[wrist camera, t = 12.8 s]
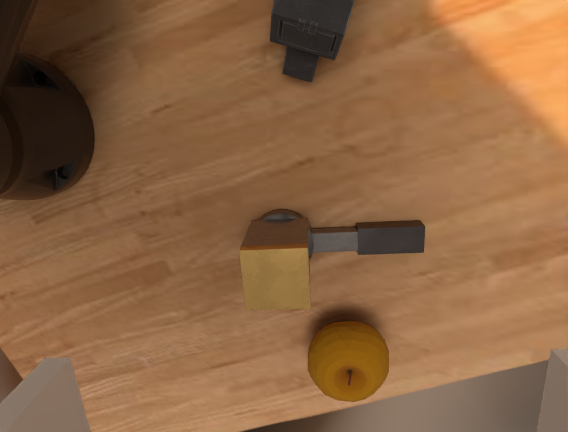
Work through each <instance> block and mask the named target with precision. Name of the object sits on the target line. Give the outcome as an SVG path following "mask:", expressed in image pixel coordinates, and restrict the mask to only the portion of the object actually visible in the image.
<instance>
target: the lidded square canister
mask: <svg viewBox="0 0 568 432" xmlns="http://www.w3.org/2000/svg"><path fill="white" fill-rule="evenodd" d="M239 253H240V263H241V272H242V281H243V290H244V300H245V309H246V310H281V309H311V300H310V259H309V239H308V218H296V219H273V220H252V221H251V224H250V226H249V228H248V231H247V233H246V236H245V238H244V240H243V243H242V245H241V247H240V250H239Z"/></svg>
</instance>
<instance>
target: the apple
mask: <svg viewBox="0 0 568 432" xmlns="http://www.w3.org/2000/svg"><path fill="white" fill-rule="evenodd" d="M308 371H309V373H310V376H311V378H312V379H313V381H314V382H315V384H316V385H317V386H318V388H319V389H320V390H321V391H322V392H323V393H324V394H325V395H327V396H329V397H331V398H334V399H336V400H340V401H350V402H356V401H360V400H364V399H366V398H367V397H369V396H371V395H372V394H374V393H375V392H376V391H377V390H378V389H379V388H380V386H381V385H382V384H383V382H384V381H385V379H386V377H387V374H388V372H389V351H388V348H387V345H386V343H385V340H384V339H383V337H382V336H381V335H380V333H379V332H378V331H377V330H376V329H374V328H373V327H371V326H369V325H367V324H364V323H362V322H359V321H342V322H334V323H331V324H329V325H327V326H325V327H324V328H322V329H321V330H320V331H319V332H318V333H317V334H316V336H315V337H314V338H313V340H312V341H311V343H310V346H309V350H308Z"/></svg>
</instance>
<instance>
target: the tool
mask: <svg viewBox="0 0 568 432" xmlns="http://www.w3.org/2000/svg"><path fill="white" fill-rule="evenodd" d="M354 2H355V0H274V4H273V9H272V16H271V31H270V41H271V42H274V43H278V44H281V45H285V46H287V50H286V56H285V61H284V67H283V73H282V74H285V75H289V76H292V77H296V78H299V79H303V80H306V81H309V82H312V80H313V76H314V73H315V70H316V66H317V63H318V59H319V56H322V57H325V58H329V59H332V60H335V58H336V56H337V53H338V50H339V48H340V45H341V42H342V40H343V37H344V34H345V31H346V28H347V24H348V21H349V18H350V15H351V12H352V8H353V5H354Z"/></svg>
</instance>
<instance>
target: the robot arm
mask: <svg viewBox="0 0 568 432" xmlns="http://www.w3.org/2000/svg"><path fill="white" fill-rule="evenodd" d="M37 3H38V0H0V199H12V200H35V199H41V198H45V197H49V196H51V195H54V194H56V193H59V192H61V191H63V190H65V189H67V188H69V187H70V186H72V185H73V184H75V183H76V182H77V181H78V180H79V179H80V178H81V177H82V175H83V174H84V172H85V171H86V169H87V167H88V165H89V163H90V160H91V157H92V153H93V147H94V131H93V125H92V120H91V117H90V113H89V111H88V108H87V106H86V104H85V102H84V100H83V98H82V96H81V95H80V93H79V92H78V90H77V89H76V87H75V86H74V85H73V84H72V83H71V81H70V80H69V79H68V78H67V77H66V76H65V75H64V74H62V73H61V72H60V71H59V70H58V69H56V68H55V67H53V66H52V65H50V64H49V63H47V62H45V61H43V60H41V59H39V58H36V57H34V56H31V55H27V54H23V53H18V51H19V48H20V45H21V43H22V40H23V38H24V35H25V33H26V30H27V28H28V25H29V23H30V20H31V18H32V15H33V13H34V10H35V8H36V5H37ZM0 432H91V431H90V427H89V424H88V420H87V416H86V413H85V409H84V406H83V402H82V398H81V395H80V391H79V387H78V384H77V380H76V377H75V373H74V369H73V366H72V362H71V358H44V359H43V360H42V361H41V362H40V363H39V364H38V366H37V367H36V368H35V369H34V370H33V371H32V372H31V373H30V374H29V375H28V376H27V377H26V378H25V379H24V380H23V381H22V382H21V383H20V384H19V385H18V386H17V387H16V388H15V389H14V390H13V391H12V392H11V393H10V394H9V395H8V396H7V397H6V398H5V399H4V400H3V401H2V403H1V404H0ZM537 432H568V349H551V352H550V358H549V364H548V370H547V376H546V381H545V387H544V393H543V398H542V404H541V410H540V416H539V422H538V428H537Z"/></svg>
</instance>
